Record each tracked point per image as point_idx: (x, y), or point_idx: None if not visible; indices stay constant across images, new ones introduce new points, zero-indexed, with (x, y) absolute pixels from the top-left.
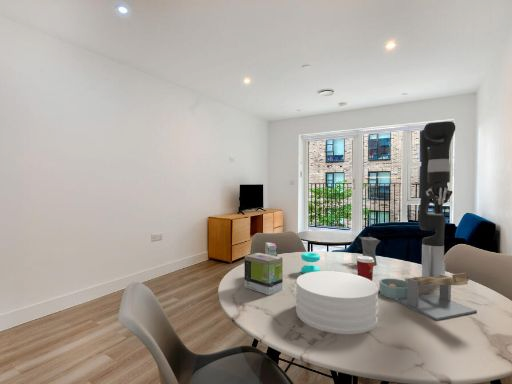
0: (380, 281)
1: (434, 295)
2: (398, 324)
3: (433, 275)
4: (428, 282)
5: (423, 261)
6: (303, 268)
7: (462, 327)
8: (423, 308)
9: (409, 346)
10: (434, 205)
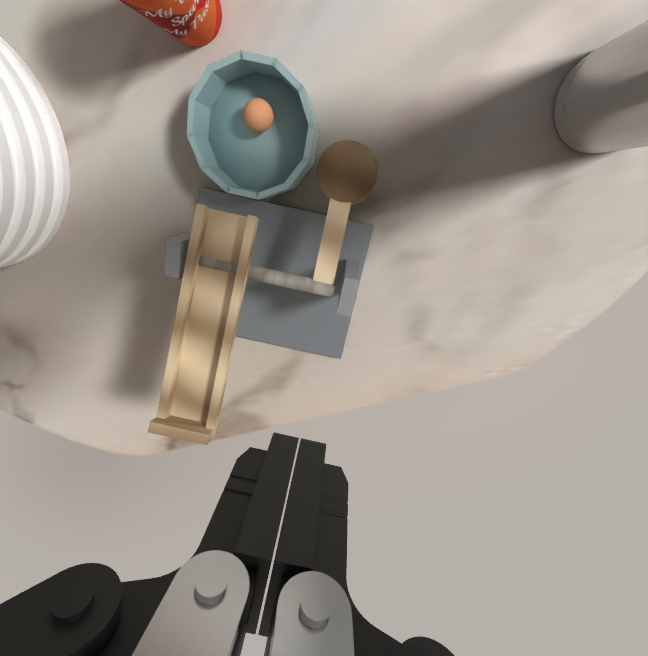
0: (205, 74)
1: (354, 238)
2: (85, 285)
3: (573, 125)
4: (191, 311)
5: (630, 41)
6: None
7: None
8: None
9: (37, 349)
10: (197, 550)
